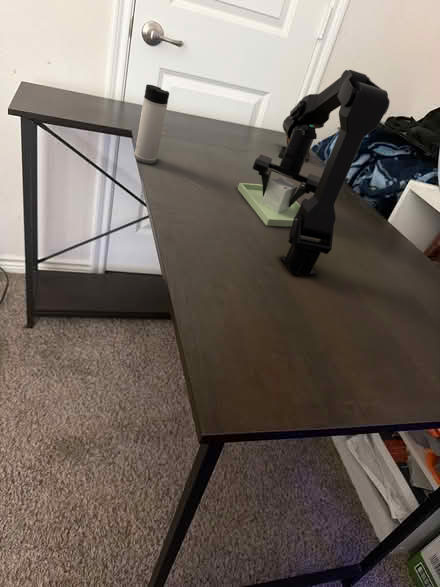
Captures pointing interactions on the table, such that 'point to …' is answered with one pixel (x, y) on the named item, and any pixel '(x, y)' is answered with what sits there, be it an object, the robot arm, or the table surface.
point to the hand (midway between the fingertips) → (276, 201)
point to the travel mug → (151, 124)
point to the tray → (268, 216)
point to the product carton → (279, 194)
